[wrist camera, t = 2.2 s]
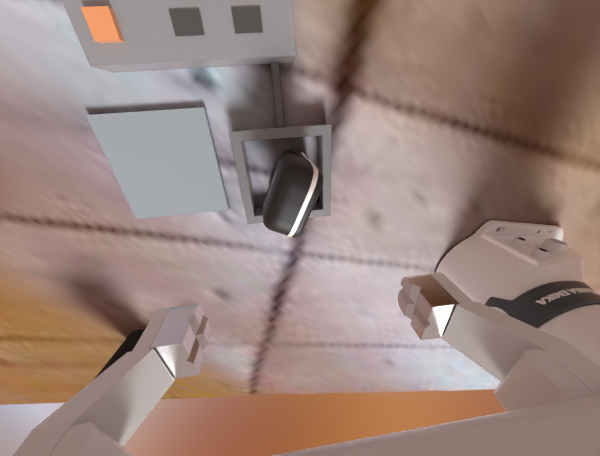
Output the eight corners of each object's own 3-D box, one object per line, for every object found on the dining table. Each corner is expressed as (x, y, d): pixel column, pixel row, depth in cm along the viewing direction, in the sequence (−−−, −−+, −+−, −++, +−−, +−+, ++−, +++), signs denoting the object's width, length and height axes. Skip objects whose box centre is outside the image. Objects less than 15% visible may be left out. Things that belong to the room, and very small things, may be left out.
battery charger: (280, 141, 26) (284, 157, 16) (308, 153, 27) (329, 176, 17) (262, 192, 28) (256, 235, 18) (288, 201, 29) (296, 246, 19)
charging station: (326, -6, 20) (335, -29, 17) (326, 208, 30) (332, 219, 27) (85, 2, 18) (47, -21, 15) (173, 223, 29) (161, 237, 26)
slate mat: (205, 107, 23) (203, 107, 23) (229, 207, 29) (228, 209, 28) (89, 115, 22) (85, 115, 22) (138, 216, 28) (135, 218, 28)
